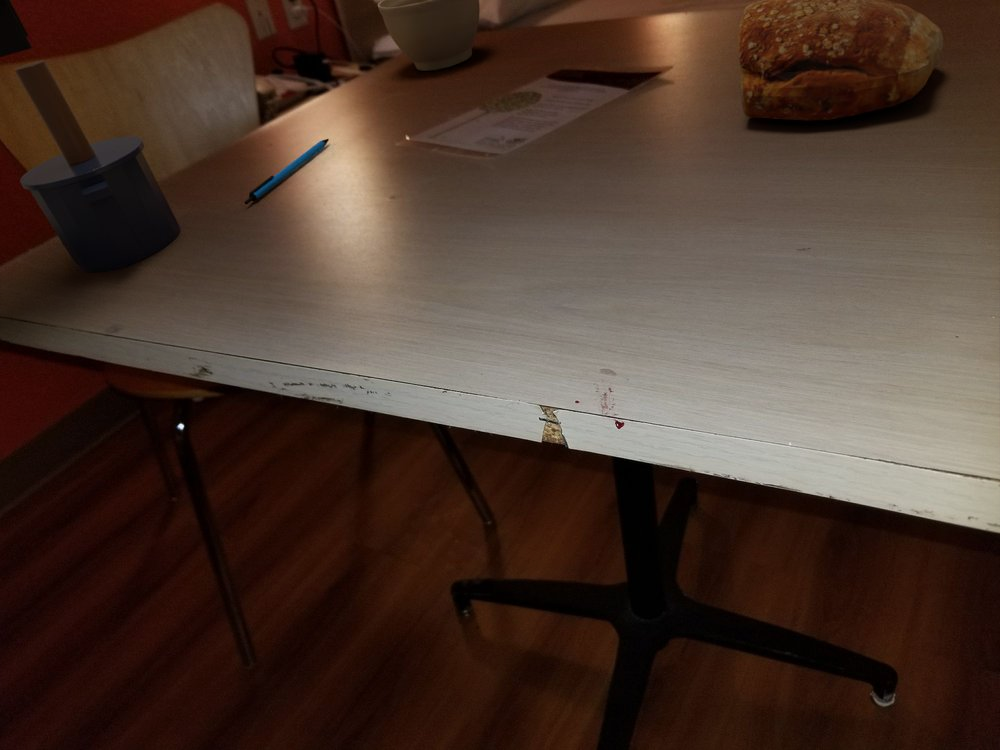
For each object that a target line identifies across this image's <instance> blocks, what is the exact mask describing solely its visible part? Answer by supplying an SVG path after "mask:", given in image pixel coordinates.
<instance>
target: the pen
mask: <svg viewBox="0 0 1000 750" xmlns="http://www.w3.org/2000/svg"><path fill="white" fill-rule="evenodd" d="M328 142H329V138H326V139H322V140H320V141H319V142H317V143H316V144H314V145H313V146H312V147H310V148H309V149H307V150H306V151H305V152H304V153H302V154H301V155H300V156H298V157H297V158H296V159H294V161H292V162H291V163H289V164H287V166H286V167H284V168H283V169H281V170H280V171H279V172H278V173H276V174H275V175H270V176H269V177H268V178H267V179H265V180H264V181H263V182H261V183H260V184H259V185H257V186H256V187H255V188H253V189H252V190H250V191H249V193H248V198H247V199H246V200H244V204H245V205H249V204H250V203H252V202H256V201H257V200H259V198H261V197H263V196H264V195H265V194H266V193H268V192H269V191H270V190H271V189H273V188H274V187H275V186H276V185H278V184H279V183H280V182H281V181H283V180H284V179H285V178H286V177H288V176H289V175H290V174H292V173H293V172H294V171H295V170H297V169H298V168H299V167H301V166H302V165H303V164H304V163H306V162H307V161H308V160H310V159H311V158H312V157H314V156H315V155H316V154H317V153H319V152H320V151H321V150H322V149H324V148H325V147H326V145H327V144H328Z"/></svg>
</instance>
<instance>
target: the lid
mask: <svg viewBox="0 0 1000 750" xmlns="http://www.w3.org/2000/svg"><path fill="white" fill-rule="evenodd" d="M13 71H14V73H15V74H16V76H17V77H18V79H19V81H20V82H21V85H22V86H23V88H24V90H25V91H26V93H27V95H28V97H29V98H30V100H31V102H32V104H33V106H34V107H35V109H36V111H37V112H38V114H39V116H40V118H41V120H42V121H43V123H44V125H45V126H46V128H47V130H48V133H50V135H51V137H52V139H53V140H54V142H55V144H56V146H57V147H58V149H59V151H60V153H61V154H59V155H56V156H54V157H52V158H49V159H47V160H45V161H43V162H41V163H39V164H37V165H36V166H34V167H32V168H31V169H30V170H28V171H27V172H26V173H25V174H23V175H22V176H21V178H20V180H19V181H20V182H19V183H20V185H21V186H22V187H23V189H25V190H26V191H30V190H32V191H36V190H47V189H53V188H58V187H62V186H66V185H70V184H73V183H77V182H80V181H83V180H86V179H89V178H92V177H94V176H97V175H100V174H102V173H104V172H107V171H109V170H111V169H114V168H116V167H118V166H120V165H122V164H124V163H125V162H127V161H129V160H130V159H132V158H134V157H135V156H136V155H138V154H139V153H140V152H141V151H142V152H143V150H144V148H145V144H144V141H143V140H142V138H140V137H138V136H121V137H120V136H119V137H114V138H108V139H105V140H100V141H96V142H92V143H90V142H89V140H88V138H87V136H86V134H85V133H84V131H83V128H82V127H81V125H80V124H79V122H78V120H77V118H76V116H75V115H74V113H73V111H72V109H71V107H70V105H69V102H68V101H67V100H66V98H65V96H64V94H63V92H62V90H61V88H60V87H59V84H58V83H57V81H56V79H55V77H54V76H53V73H52V71H51V70H50V69H49V66H48V64H47V62H46V61H45V60H43V59H42V60H41V59H40V60H36V61H32V62H29V63H26V64H23V65H19V66H17V67H16V68H14V69H13Z"/></svg>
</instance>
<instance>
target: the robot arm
mask: <svg viewBox="0 0 1000 750" xmlns="http://www.w3.org/2000/svg"><path fill="white" fill-rule="evenodd" d="M29 35H30V34H29V33H28V31H27V29H26V28H25V26H24V24H23V22H22V21H21V18H20V16H19V15H18V13H17V11H16V9H15V8H14V6H13V4H12V2H11V0H0V58H2V57H6V56H11V55H13V54H17V53H20V52H24V51H27V50H31V49H32V48H33V47H32V45H31V43H30V41H29V39H28V37H29Z"/></svg>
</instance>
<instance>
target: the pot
mask: <svg viewBox="0 0 1000 750" xmlns="http://www.w3.org/2000/svg"><path fill="white" fill-rule="evenodd" d="M29 192H30V193H31V195H32V197H33V198H34V200H35V201H36V203H37V204H38V206H39V208H40V209H41V211H42V213H43V214H44V216H45V217H46V220H47V221H48V222H49V224H50V225H51V227H52V229H53V231H54V232H55V233H56V235H57V237H58V239H59V240H60V242H61V243H62V245H63V247H64V249H65V250H66V252H67V253H68V255H69V257H71V259H72V262H73V263H74V264H75V265H76V266H77V268H78V269H79V270H80V271H82V272H88V273H97V272H99V273H100V272H106V271H111V270H115V269H118V268H122V267H125V266H129V265H131V264H134V263H137V262H139V261H141V260H145V259H146V258H148V257H151V256H152V255H154V254H155V253H158V252H159V251H160V250H162V249H164V248H165V247H167V246H168V245H170V244H171V243H172V242H173V241H174V240H175V239H176V238H177V237H178V235H179V234H180V231H181V227H180V225H179V222H178V221H177V218H176V216H175V214H174V212H173V210H172V208H171V206H170V204H169V203H168V201H167V198H166V197H165V195H164V193H163V191H162V189H161V187H160V184H159V182H158V180H157V179H156V177H155V175H154V173H153V171H152V169H151V167H150V165H149V163H148V160H147V159H146V157H145V156H144V153H143V150H142V151H141V152H140V153H139V154H138V155H136V156H135V157H134V158H132V159H130V160H129V161H127V162H125V163H124V164H122V165H120V166H118V167H116V168H114V169H111V170H109V171H107V172H104V173H102V174H100V175H97V176H94V177H92V178H89V179H86V180H83V181H80V182H77V183H73V184H70V185H66V186H62V187H58V188H53V189H47V190H36V191H32V190H29Z"/></svg>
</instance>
